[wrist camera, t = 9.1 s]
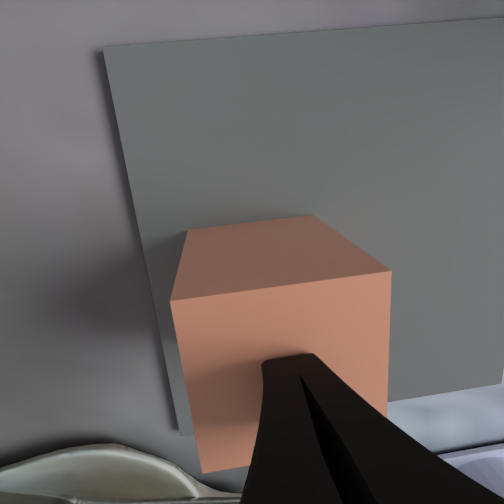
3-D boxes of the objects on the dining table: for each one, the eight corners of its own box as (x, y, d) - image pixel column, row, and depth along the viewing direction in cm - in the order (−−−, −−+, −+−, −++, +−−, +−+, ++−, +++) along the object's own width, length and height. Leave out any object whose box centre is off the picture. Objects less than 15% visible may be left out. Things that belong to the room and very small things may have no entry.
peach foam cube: (317, 324, 16) (386, 441, 10) (205, 340, 16) (202, 473, 9) (312, 214, 14) (391, 270, 8) (187, 229, 14) (169, 301, 8)
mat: (495, 378, 19) (501, 383, 18) (181, 429, 17) (180, 436, 17) (551, 16, 14) (561, 13, 13) (105, 49, 12) (101, 46, 12)
